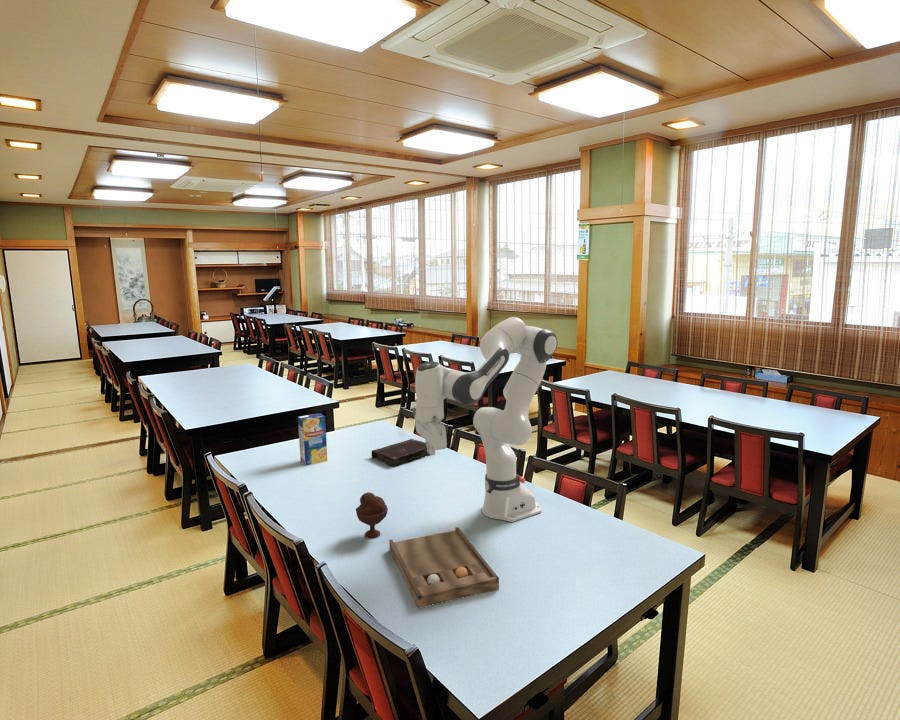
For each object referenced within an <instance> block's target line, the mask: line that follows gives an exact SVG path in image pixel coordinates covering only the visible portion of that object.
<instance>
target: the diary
mask: <svg viewBox="0 0 900 720" xmlns="http://www.w3.org/2000/svg"><path fill="white" fill-rule="evenodd" d="M425 456H427V457H430V456H431V455H430V454H429V453H428V452H427V446H426V442H425V441H421V440H417V439H413V438H410V439H407V440H404V441H401V442H397V443H393V444H390V445H386V446H384V447H379V448H376V449H373V450H371V458H372V459H374V458H375V459H377V460H378V461H380V462H383V463H384V464H385V465H387V466H389V467H392V468H396V467H400V466H402V465H403V466H404V465H405V464H409V463H411V462H415V461H417V460H420V459H422V457H423V458H426V457H425Z"/></svg>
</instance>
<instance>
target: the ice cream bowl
mask: <svg viewBox="0 0 900 720" xmlns="http://www.w3.org/2000/svg"><path fill="white" fill-rule="evenodd" d="M359 502H360V505H358V506H357V507H356V508H355V513H356V517H357V519H358V520H359V521H360V522H361V523H363V524H364V525H367V526H369V530H367V531H365V533H364V537H365V538H367V539H369V540H370V539H371V540H372V539H373V540H374V539H377V538H379V537H380V536H381V531H380V530H377V529H376V525H378V524H379V523H381V522H382V521H383V520H384V519H385V518H386V517H387V514H388V511H389V508H388V505H387V504H386V502H385V500H384V499H383V498H382V497H381V496H378V495H375V494H374V493H373V492H364V493H363V494H362V495H361V496H360V499H359Z"/></svg>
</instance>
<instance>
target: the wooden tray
mask: <svg viewBox="0 0 900 720" xmlns="http://www.w3.org/2000/svg"><path fill="white" fill-rule="evenodd" d="M388 541H389V542H388V543H389V544H388V545H389V552H390V554H391V556H392V557H393V560H394V562H395V564H396V566H397V568H398V570H399V572H400V573H401V576H402V578H403V580H404V582H405V583H406V586H407V588H408V591H409V592H410V595H411V596H412V598H413V601H414V603H415V604H416V606H417V609H422V608H421V607H423V608H426V607H425V606H427V607H430V606H429V605H431V606H433V605H432V604H435V605H438V604H437V603H439V604H442V603H441V602H443V603H446V601H448V602H451V601H450V600H452V601H456V600H460V599H463V598H462V597H464V598H467V596H468V597H472V596H475V594H477V595H479V594H480V593H481V594H485V593H488V591H489V592H493V591H496V590H499V589H500V577H499V576H498V575H497V573H495V571H494V570H493V569H492V567H491V566H490V565H489V564H488V562H487V561H486V559H485V558H484V557H483V556H482V555H481V553H479V551H478V550H477V549H476V547H475V546H474V545H473V544H472V542H471V541H470V540H469V539H468V538H467V536H466V535H465V534H464V533H463V531H462V530H461V529H460V527H458V526H456V527H454V530H450V531H446V532H440V533H435V534H430V535H425V536H420V537H413V538H409V539H403V540H398V541H393V539H389V540H388ZM459 567H464V568H466V569H467V572H468V575H467V576H466V577H462V578H457V577H456V570H457V569H458V568H459ZM431 574H436V575H437V576H438V577H439V579H440V583H435V584H431V585H428V583H427V579H428V577H429V576H430V575H431ZM471 595H472V596H471ZM459 598H460V599H459ZM455 599H456V600H455Z"/></svg>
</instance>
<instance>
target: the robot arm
mask: <svg viewBox="0 0 900 720" xmlns="http://www.w3.org/2000/svg"><path fill="white" fill-rule="evenodd" d="M479 342H480V343H479V348H480V352H481V354H482V356H483V358H484V359H485V360H484V361H483V363H482V364H481V365H480V366H479V367H478V368H477V369H476V370H473V371H470V372H466V371H461V370H457V369H453V368H449V367H447V366H443V365H442V364H441V362H438V361H425V362H424V363H421V364H420V365H418V367H417V368H416V371H415V380H414V381H415V383H414V385H415V386H414V387H415V388H414V389H415V394H416V402H415V405H414V406H412V413H413V414H414V423H415V431H416V433H417V434H419V436H421V438H423V439H424V442H425V443H426V446H427V452H428V453H429V454H430V456H435V455H436V451H440V450H446V448H447V445H448V443H447V442H448V441H447V440H448V439H447V431H446V427H445V424H443V423H442V421H443V420H444V418H445V413H444V412H445V411H444V408H445V407H444V406H445V405H444V404H445V403H444V400H445V399H449V400H452V401H454V402H458V403H459V404H463V405H465V406H473V405H475V404H476V403H478V402H479V400H481V399H482V398H483V395H484V394H485V391H486V390H487V388H488V387H489V386H490V385H491V383H492V382H493V381H494V380H495V379H496V377H497V376H498V375H499V374H500V373H501V372H502V371H503V369H504V368H505V367H506V366H507V364H508V362H509V360H510V355H511V354H512V353H515V354H518V355H520V360H519V362H518V363H517V364H516V366H515V368H514V370H513V371H512V373H511V375H510V377H509V379H508V380H507V382H506V383H505V386H504V388H503V390H502V392H503V393H502V394H503V396H504V398H505V401H506V402H505V406H504V409H500V408H497V407H493V406H483V407H479V409H477V410H476V411H475V413H474V415H473V418H472V421H473V422H472V423H473V427H474V428H475V430H476V431H477V432H478V435H479V436H480V439H481V442H482V446H483V449H484V453H485V454H484V455H485V463H486V464H485V466H486V467H485V468H486V471H485V475H484V489H485V493H484V498H483V499H484V500H483V504H482V507H481V512H482V513H483V515H485V516H486V517H489V518H491V519H496V520H500V521H501V520H503V521H505V522H509V523H510V522H512V523H513V522H515V521H518V520H519V521H520V520H522V519H525V518H528V517H530V516H531V517H532V516H534V515H538V514H540V513H542V507H541V505H540V503H538V501H536V497H535V495H534V493H533V492H532V491H531V489H528V487H526V486H525V485H523V484H524V483H525V482H526V478H525V477H523V476H520V475H519V474H518V473H517V455H516V453H515V451H514V450H513V449H512V448H511V445H512V446H523V445H525V444H527V443H528V441H530V439H531V437H532V433H533V428H532V425H531V421H530V417H529V416H530V415H529V413H530V411H529V410H530V407H531V404H532V402H533V399H534V396H535V394H536V393H537V390H538V388H539V387H540V384H541V382H542V381H543V377H544V375H545V372H546V368H547V362H548V361H549V360H551V358H552V356H553V355H554V354H555V353H556V351H557V348H558V338H557V334H555V332H554V331H552V330H549V329H546V328H542V327H541V328H540V327H538V326H533V325H526V323H525V322H524V321H523V320H522V319H520V318H519V317H517V316H516V317H515V316H510V317H508V318H506V319H504V320H502V321H500V322H499V323H497V324H496V325H494V326H493V327H492V328H491V329H489V330H488V331H487V332H486V333H485V334H484V335H483V336H482V337H481V339H480V341H479Z"/></svg>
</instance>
